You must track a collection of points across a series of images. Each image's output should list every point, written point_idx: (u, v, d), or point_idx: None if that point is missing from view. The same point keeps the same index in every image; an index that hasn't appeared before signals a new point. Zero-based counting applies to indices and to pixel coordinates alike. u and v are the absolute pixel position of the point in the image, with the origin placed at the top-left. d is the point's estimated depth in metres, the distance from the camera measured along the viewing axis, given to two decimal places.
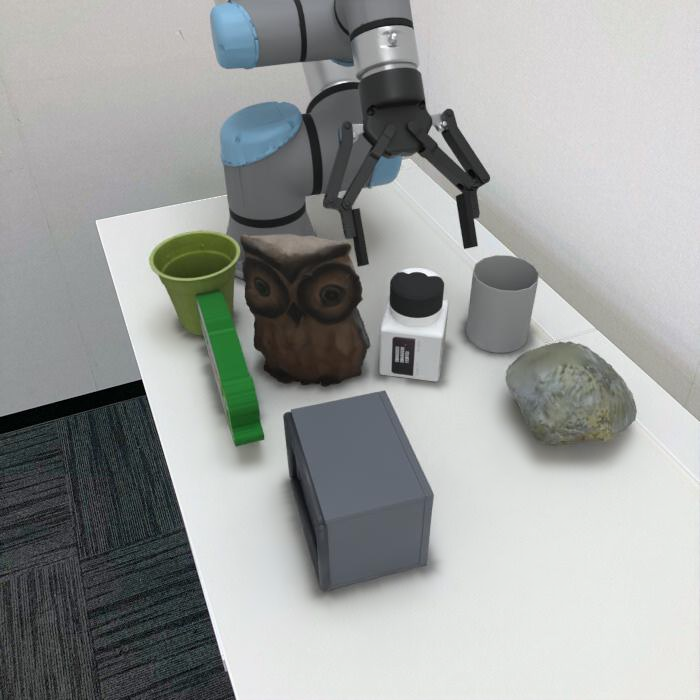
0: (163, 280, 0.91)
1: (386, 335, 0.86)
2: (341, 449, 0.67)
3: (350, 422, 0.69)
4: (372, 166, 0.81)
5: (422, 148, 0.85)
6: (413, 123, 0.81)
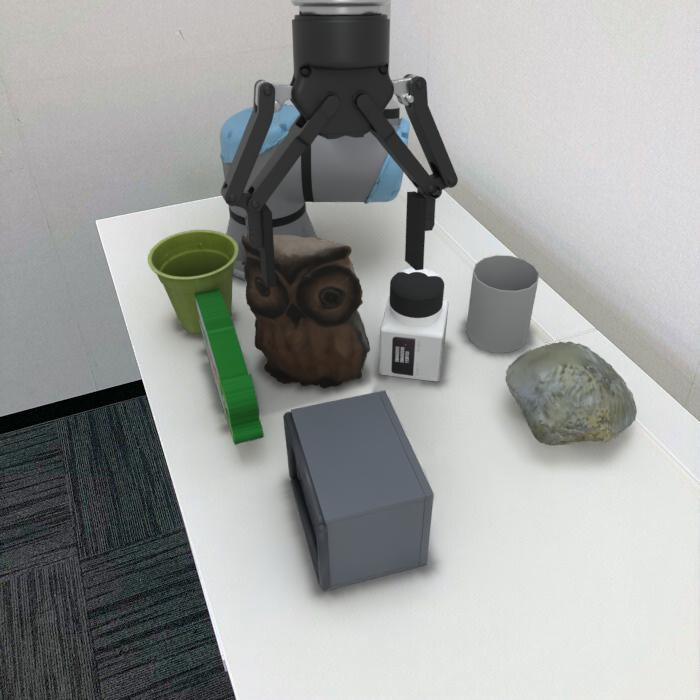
0: (161, 279, 0.91)
1: (386, 335, 0.86)
2: (341, 449, 0.67)
3: (350, 422, 0.69)
4: (297, 154, 0.56)
5: None
6: (365, 98, 0.55)
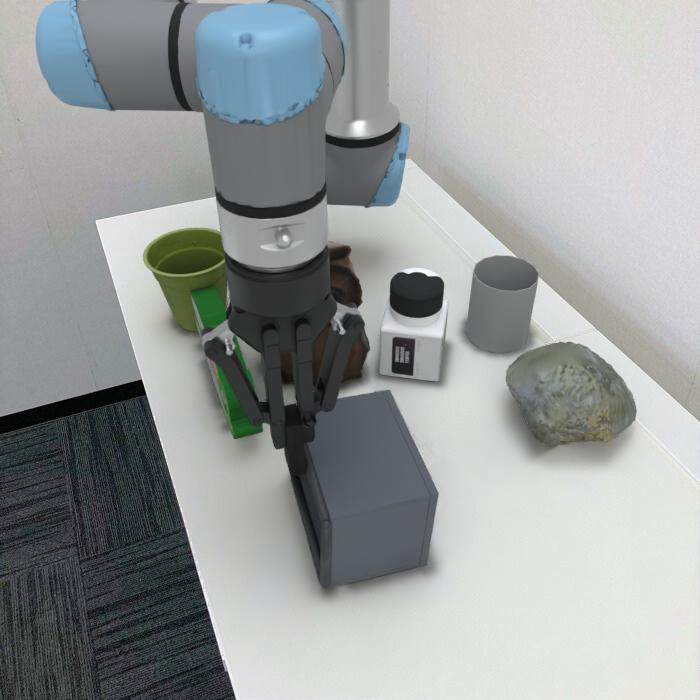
0: (157, 277, 0.91)
1: (386, 335, 0.86)
2: (346, 446, 0.66)
3: (355, 420, 0.69)
4: (278, 375, 0.56)
5: None
6: (307, 328, 0.53)
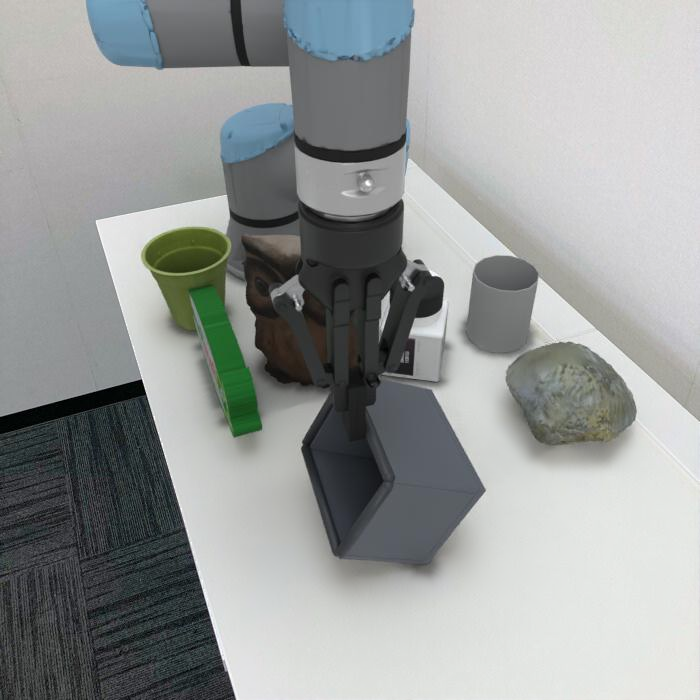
0: (155, 276, 0.92)
1: None
2: (402, 423, 0.67)
3: (406, 404, 0.70)
4: (345, 333, 0.56)
5: None
6: (378, 283, 0.53)
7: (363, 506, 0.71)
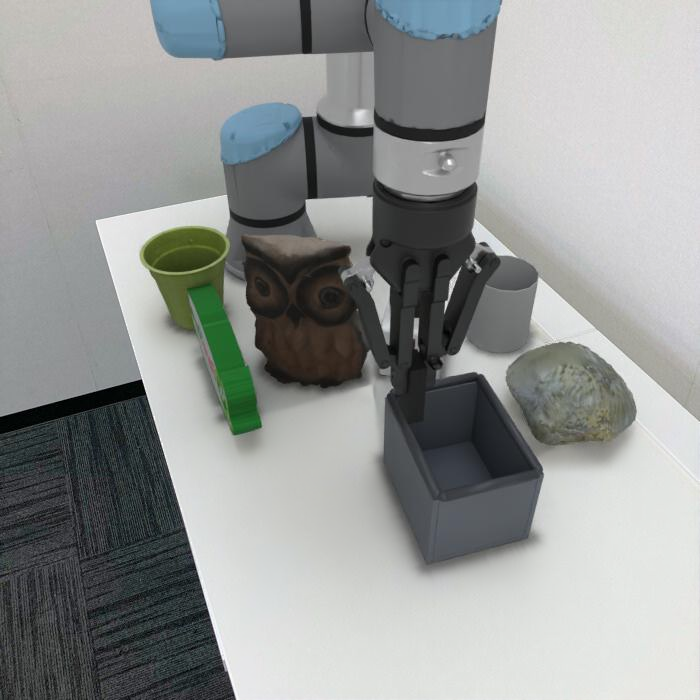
0: (154, 275, 0.92)
1: (386, 335, 0.86)
2: None
3: None
4: (411, 315, 0.56)
5: None
6: (448, 264, 0.53)
7: None
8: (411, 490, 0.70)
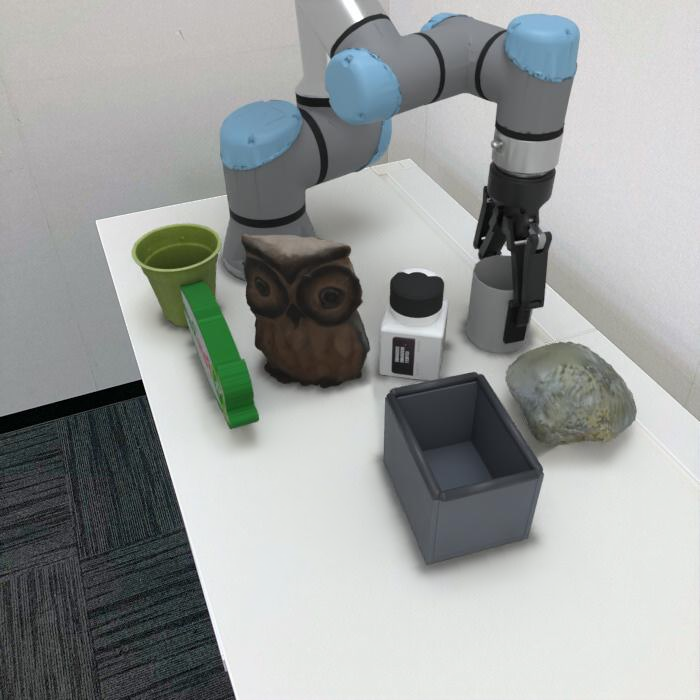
0: (147, 272, 0.92)
1: (386, 335, 0.86)
2: None
3: None
4: (491, 235, 0.90)
5: None
6: (506, 220, 0.84)
7: None
8: (411, 490, 0.70)
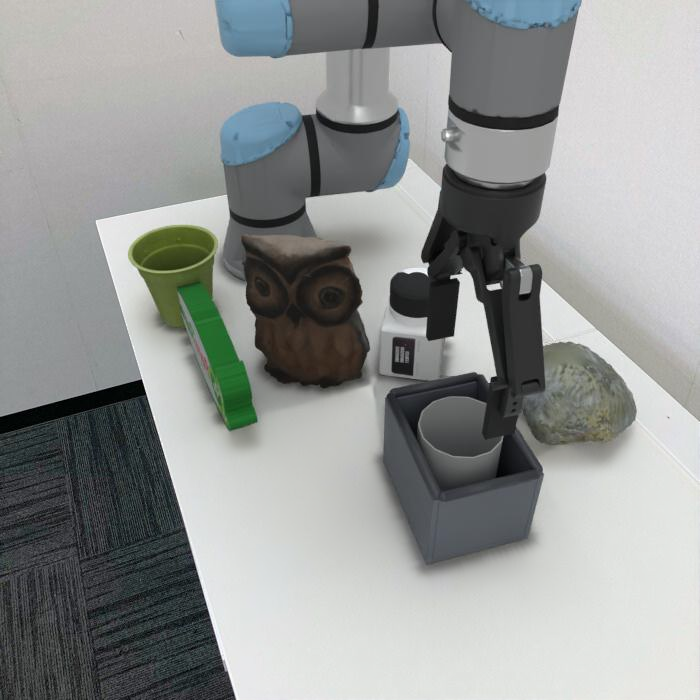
0: (143, 274, 0.92)
1: (386, 335, 0.86)
2: None
3: None
4: (447, 259, 0.61)
5: None
6: (469, 253, 0.54)
7: None
8: (411, 490, 0.70)
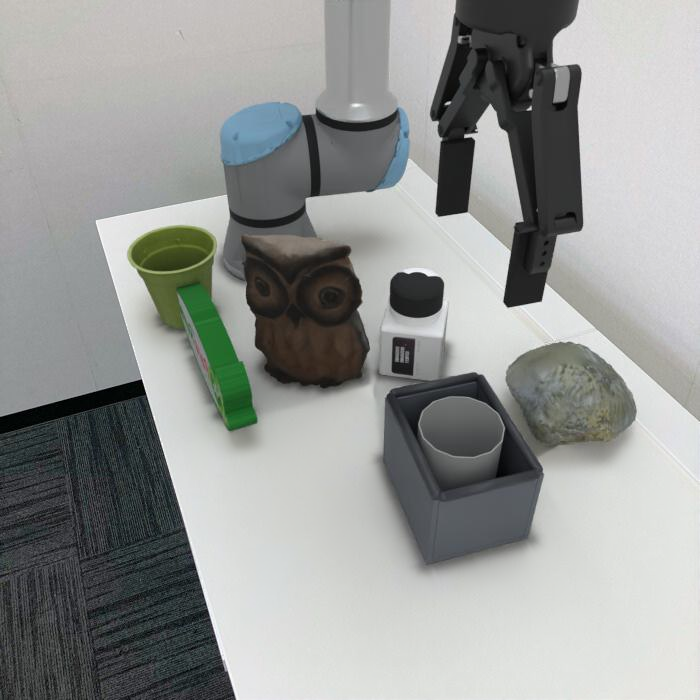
0: (142, 275, 0.92)
1: (386, 335, 0.86)
2: None
3: None
4: (462, 99, 0.52)
5: None
6: (491, 67, 0.45)
7: None
8: (411, 490, 0.70)
